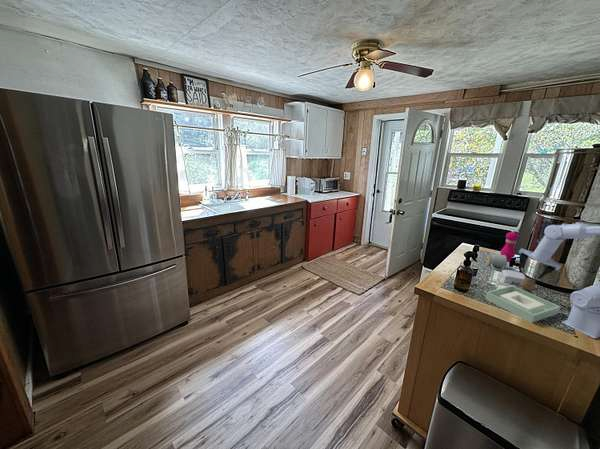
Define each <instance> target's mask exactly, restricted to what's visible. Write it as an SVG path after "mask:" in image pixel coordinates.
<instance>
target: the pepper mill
mask: <svg viewBox="0 0 600 449" xmlns="http://www.w3.org/2000/svg"><path fill="white" fill-rule="evenodd" d="M505 238H506V239H505V244H504V246H503V248H501V250H500V252H499V255H505V256H506V258H507V263H511V262H510V260H511V259H513V258H515V255H516V251H515V244H516V243H517V240H518V239H519V234H518V233H517V232H516V230H514V229H512V230H511V231H510V232H507V233H506V234H505Z"/></svg>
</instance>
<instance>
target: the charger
mask: <svg viewBox="0 0 600 449" xmlns="http://www.w3.org/2000/svg"><path fill="white" fill-rule="evenodd" d="M500 277H501V279H502V281H503V283H505V284H509V285H513V286H518V287H522V283H523V280H524V278H527V276H526V274H524V273H523V272H518V271H516V270H511V269H503V270H502V271H501V275H500Z"/></svg>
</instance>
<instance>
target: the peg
mask: <svg viewBox="0 0 600 449" xmlns="http://www.w3.org/2000/svg"><path fill="white" fill-rule="evenodd" d="M535 283H536V280H535V279H533V278H531V277H526V278H524V280H523V283H522V286H520V289H522V290H524V291H526V292H529V293H531V294H532V293H533V290H534V287H535Z"/></svg>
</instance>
